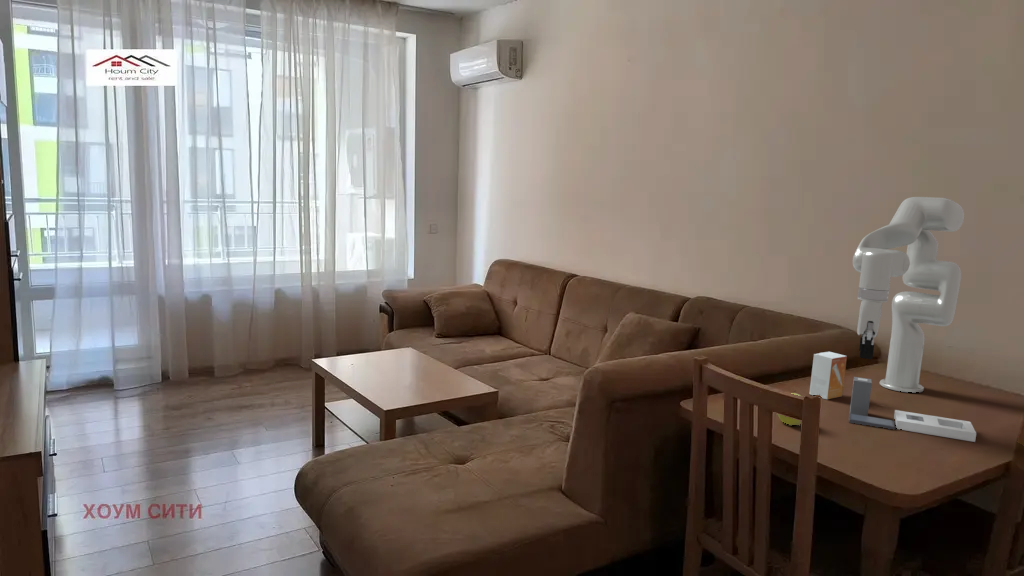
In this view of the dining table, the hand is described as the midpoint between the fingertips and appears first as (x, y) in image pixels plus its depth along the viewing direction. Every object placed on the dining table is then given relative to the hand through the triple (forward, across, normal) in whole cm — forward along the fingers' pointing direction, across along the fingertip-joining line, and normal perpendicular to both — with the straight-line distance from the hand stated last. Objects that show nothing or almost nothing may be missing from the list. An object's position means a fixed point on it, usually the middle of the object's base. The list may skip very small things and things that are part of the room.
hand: (865, 354), depth 197 cm
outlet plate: (+17, +4, +18) cm, 25 cm away
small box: (+17, -14, -9) cm, 24 cm away
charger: (+17, 0, 0) cm, 17 cm away
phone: (+17, +7, +3) cm, 19 cm away
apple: (+18, +20, -17) cm, 31 cm away
